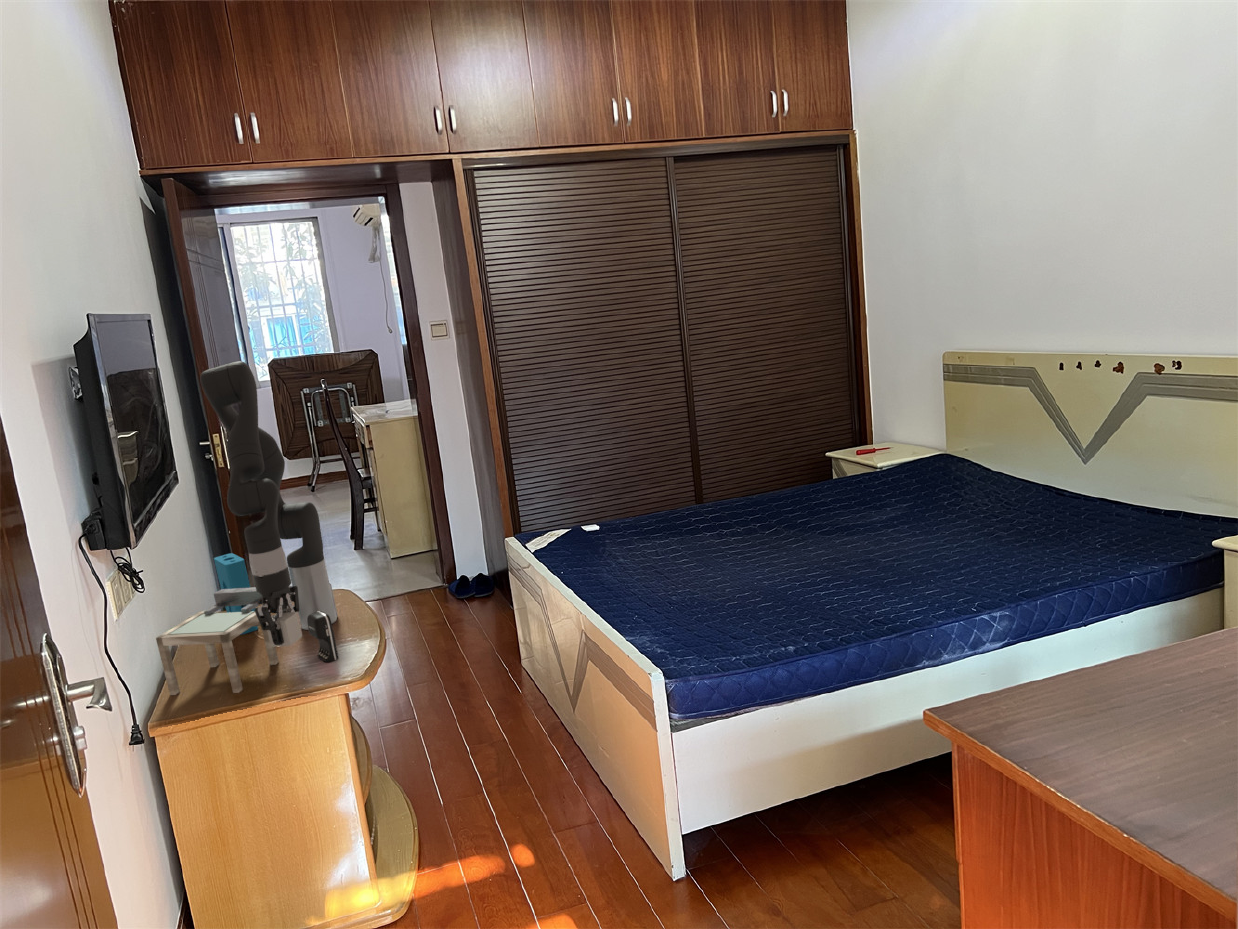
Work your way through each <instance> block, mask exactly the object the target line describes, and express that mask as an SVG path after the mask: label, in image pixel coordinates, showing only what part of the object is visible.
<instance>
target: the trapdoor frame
mask: <svg viewBox="0 0 1238 929" xmlns="http://www.w3.org/2000/svg"><path fill="white" fill-rule="evenodd" d="M204 611H205V610H203V611H202V610H201V611H199V612H197V613H196V614H194V615H192V616H191V617H189V618H187V619H185V620H184V621H182V622H180V623H178V624H177V625H176V626H174V627H172V628H171V629H169V630H167V631H165V632H164V633H162V634H160V635H158V636H157V637H155V640H156V644H157V648H158V652H159V657H160V661H161V665H162V667H163V668H162V669H163V672H164V677H165V680H166V685H167V687H168V692H169V696H177V694H179V693H181V689H180V687H179V683H178V678H177V675H176V670H175V665H174V662H173V659H172V654H171V650H170V647H171V646H173V647H174V646H192V645H204V647H205V651H206V655H207V660H208V664H209V668H216V667H218V666H219V665H220V662H219V658H218V653H217V652H218V651H217V648H216V645H215V644H221V648H222V651H223V655H224V660H225V664H226V667H227V668H226V669H227V672H228V677H229V682H230V685H231V690H232V694H240V693H241V692H242V691H243V690H244V688H243V684H242V680H241V675H240V671H239V666H238V662H237V658H236V654H235V648H234V645H233V641H232V640H234V639H236V638H237V637H239V636H241V635H240V634H241V633H243V632H244V631H246V630H247V629H249V628H250V627H252V626H258V627H261V625H260V622H259V620H258V618H257V615H256V613H255V612H254V613H252V614H251V615H249V616H248V617H246V618H245V619H243V620H242V621H240V622H238V623H237V624H235V625H234V626H232V627H231V628H229V629H228V630H226V631H225V632H216V633H197V634H177V635H169V634H170V633H172V632H174V631H175V630H177V629H179V628H180V627H182V626H184V625H185V624H187V623H189V622H190V621H192V620H194V619H196V618H197V617H199V616H201V615H202V614H205V613H204ZM261 631H262V636H263V641H264V644H265V649H266V654H267V658H268V662H269V663H268V664H269V665H270V666H273V665H274V666H275V665H277V664H279V662H280V660H279V655H278V652H277V651H278V650H277V646H276V647H271V645H270V641H269V637H268V633H267V630H263V629H262V627H261Z"/></svg>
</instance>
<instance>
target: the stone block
mask: <svg viewBox="0 0 1238 929" xmlns="http://www.w3.org/2000/svg"><path fill="white" fill-rule="evenodd" d="M276 614H277V613H274V615H276ZM273 622H274V624H275V619H273ZM266 625H267V622H266ZM280 628H281V631H282V635H283V639H284V643H283V644H282V645H275V644H274V643H273V639H272V636H271V632H270V630H267V633H268V637H269V641H270V645H271V647H276V648H277V647H291V646H292V645H294V644H295V643H297V641H298V640H300V639H301V638H302V637H303V632H302V628H301V624H300V619H299V615H298V612H291V613H289V612H287V613H282V618H281V619H280Z"/></svg>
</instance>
